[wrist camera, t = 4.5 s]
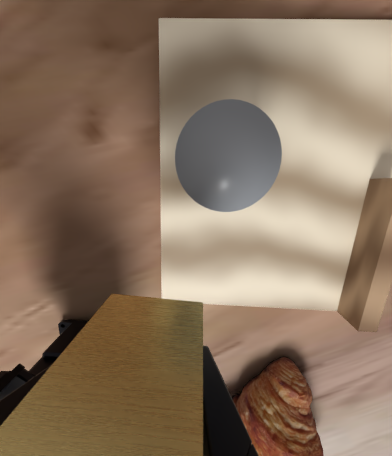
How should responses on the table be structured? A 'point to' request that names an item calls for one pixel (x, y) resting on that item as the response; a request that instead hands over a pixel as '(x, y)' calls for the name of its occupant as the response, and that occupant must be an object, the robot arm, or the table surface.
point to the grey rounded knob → (228, 155)
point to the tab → (119, 386)
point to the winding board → (285, 165)
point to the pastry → (279, 412)
